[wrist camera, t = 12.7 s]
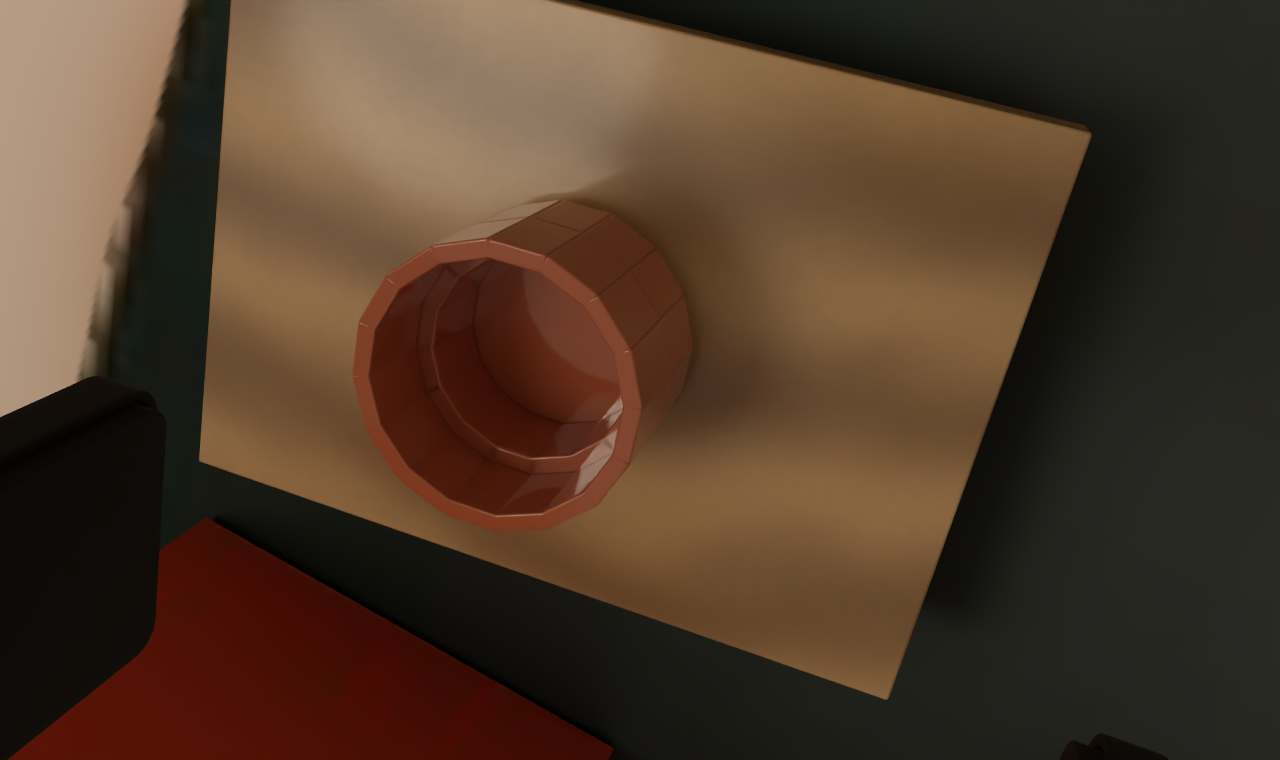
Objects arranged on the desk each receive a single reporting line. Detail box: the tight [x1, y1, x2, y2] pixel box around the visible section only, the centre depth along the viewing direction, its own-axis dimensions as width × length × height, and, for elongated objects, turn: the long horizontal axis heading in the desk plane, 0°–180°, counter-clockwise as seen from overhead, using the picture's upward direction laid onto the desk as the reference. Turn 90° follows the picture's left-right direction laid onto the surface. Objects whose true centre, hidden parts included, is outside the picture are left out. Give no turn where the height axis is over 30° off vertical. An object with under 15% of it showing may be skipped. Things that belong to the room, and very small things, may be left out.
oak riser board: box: [199, 0, 1092, 700], centre depth 33 cm, size 16×22×5 cm
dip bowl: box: [352, 200, 693, 532], centre depth 28 cm, size 7×7×6 cm
